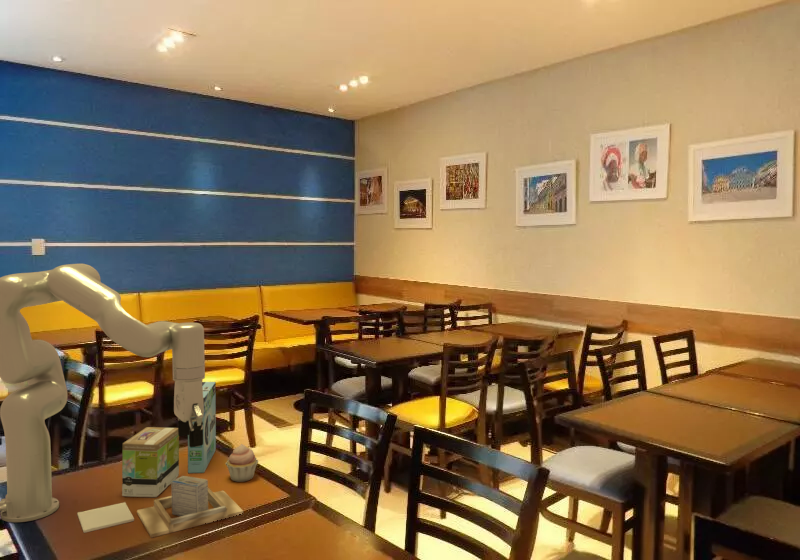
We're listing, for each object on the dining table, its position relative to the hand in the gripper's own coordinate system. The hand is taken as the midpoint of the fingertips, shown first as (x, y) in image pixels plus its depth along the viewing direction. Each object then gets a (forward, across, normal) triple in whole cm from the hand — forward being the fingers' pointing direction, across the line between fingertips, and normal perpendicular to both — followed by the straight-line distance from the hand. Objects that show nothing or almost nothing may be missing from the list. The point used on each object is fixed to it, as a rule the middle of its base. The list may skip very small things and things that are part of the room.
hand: (190, 440), depth 151 cm
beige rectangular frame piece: (+19, 0, 0) cm, 19 cm away
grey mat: (+18, -9, -18) cm, 28 cm away
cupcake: (+19, -15, +19) cm, 31 cm away
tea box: (+19, -23, -4) cm, 30 cm away
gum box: (+19, -34, +13) cm, 41 cm away
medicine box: (+19, 0, 0) cm, 19 cm away
